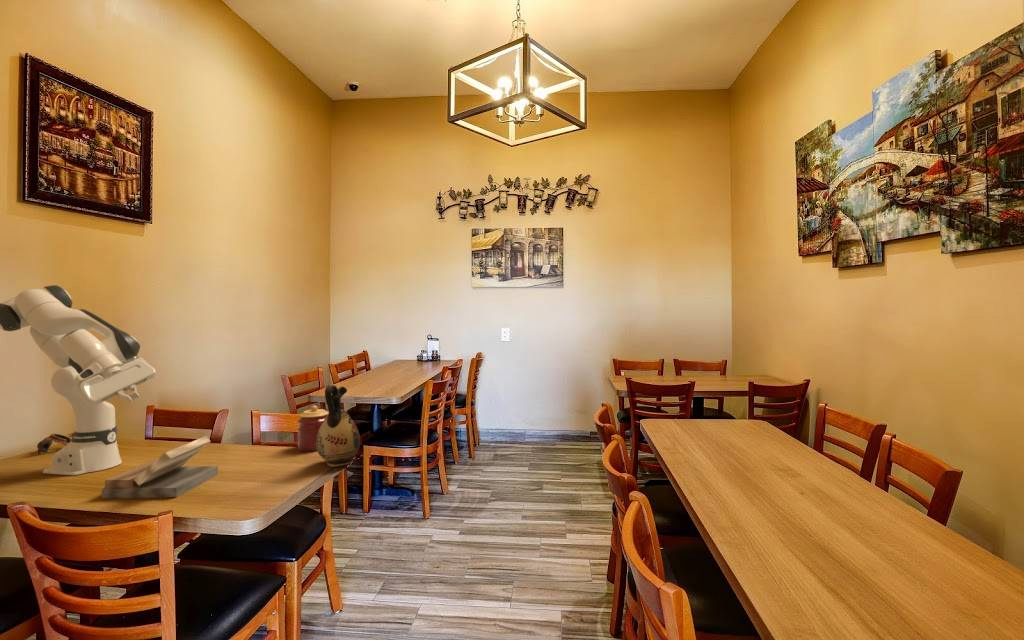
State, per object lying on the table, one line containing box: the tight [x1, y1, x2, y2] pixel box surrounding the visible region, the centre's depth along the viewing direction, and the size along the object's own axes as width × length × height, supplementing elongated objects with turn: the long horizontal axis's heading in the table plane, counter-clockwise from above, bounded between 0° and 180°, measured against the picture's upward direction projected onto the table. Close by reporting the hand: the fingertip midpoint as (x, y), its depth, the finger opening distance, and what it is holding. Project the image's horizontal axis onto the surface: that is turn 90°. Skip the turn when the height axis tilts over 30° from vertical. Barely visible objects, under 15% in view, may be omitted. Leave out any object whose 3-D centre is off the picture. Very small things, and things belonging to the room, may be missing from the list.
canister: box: [297, 405, 329, 452], centre depth 194 cm, size 13×13×18 cm
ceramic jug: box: [316, 384, 361, 468], centre depth 172 cm, size 17×15×30 cm
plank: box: [134, 435, 211, 486], centre depth 152 cm, size 13×19×2 cm
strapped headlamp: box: [36, 433, 72, 455], centre depth 192 cm, size 12×10×8 cm
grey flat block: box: [101, 459, 219, 499], centre depth 152 cm, size 23×20×6 cm
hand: (135, 399), depth 150 cm, fingers closed
